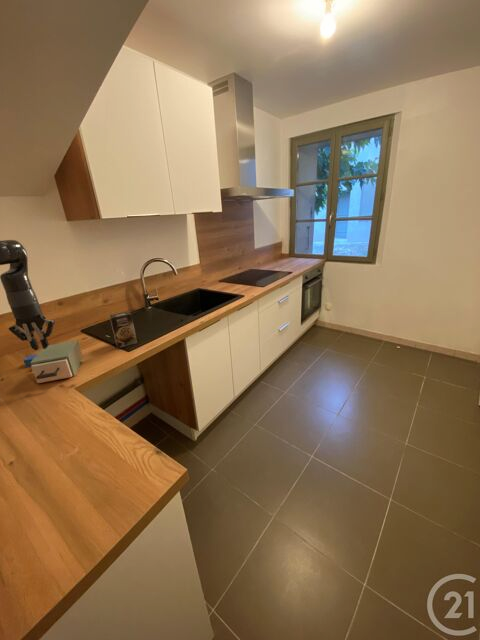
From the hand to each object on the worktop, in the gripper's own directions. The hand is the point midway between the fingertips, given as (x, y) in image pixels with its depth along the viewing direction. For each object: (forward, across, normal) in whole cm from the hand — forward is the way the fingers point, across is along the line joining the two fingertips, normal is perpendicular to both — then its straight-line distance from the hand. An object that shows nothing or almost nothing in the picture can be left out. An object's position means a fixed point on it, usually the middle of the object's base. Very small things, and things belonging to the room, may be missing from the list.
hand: (41, 348), depth 93 cm
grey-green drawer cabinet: (+15, 0, -10) cm, 18 cm away
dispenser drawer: (+14, 0, -6) cm, 15 cm away
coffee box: (+15, -24, -24) cm, 37 cm away
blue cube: (+15, +13, -19) cm, 28 cm away
